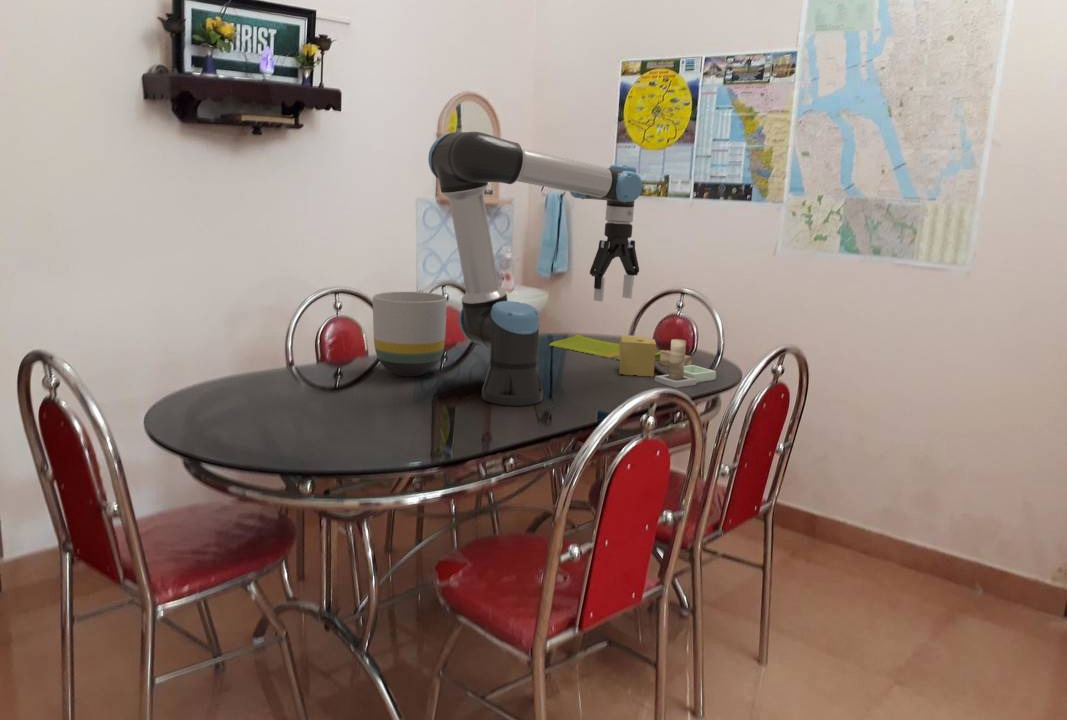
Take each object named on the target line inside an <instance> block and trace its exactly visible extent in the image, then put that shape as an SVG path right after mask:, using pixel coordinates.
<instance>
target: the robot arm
mask: <svg viewBox="0 0 1067 720" xmlns="http://www.w3.org/2000/svg"><path fill="white" fill-rule="evenodd" d="M428 166H429V169H430V171H431V173H432V174H433V176H435V178H437V179H438V183H439V187H440V192H441V194H442V195H443V196H445V197H446V198H447V199H448V202H449V206H450V211H451V217H452V223H453V229H454V235H455V239H456V245H457V251H458V255H459V260H460V266H461V272H462V276H463V278H462V279H463V283H464V288H465V293H464V295H463V296H462V298H461V305H462V309H461V310H460V312H459V316H458V324H459V327H460V330H461V332H462V334H463V335H464V337H466V338H467V339H468V340H470V341H471V342H472V343H474V344H475V345H479V346H482V347H484V348H487V349H490V351H489V369H488V371H487V373H486V377H485V379H484V384H483V385H482V387H481V398H482V400H484V401H485V402H489V403H491V404H496V405H499V406H500V405H501V406H513V407H516V406H517V407H518V406H531V405H536V404H538V403H540V402H542V401H543V396H544V390H543V387H542V383H541V380H540V375H539V372H538V354H539V353H538V352H539V351H538V350H539V349H538V348H539V331H540V330H539V329H540V325H541V324H540V314H539V311H538V309H536V307H535V306H532V305H531V304H528V303H525V302H519V301H513V300H512V301H511V300H508V294H507V291H506V290H505V289H504V288H503V287H500V284H499V279H498V272H497V267H496V260H495V256H494V254H495V253H494V248H493V244H492V238H491V237H492V236H491V232H490V226H489V221H488V220H489V219H488V214H487V209H486V203H485V196H484V192H485V190H486V189H487V188H488V186H489V185H488V184H489V183H501V184H507V185H514V184H515V183H516V182H520V183H523V184H524V183H525V184H529V185H535V186H539V187H546V188H550V189H555V190H559V191H564V192H565V191H566V192H569V193H570V195H571V196H572V197H573V198H575V199H581V200H585V199H586V200H595V201H596V200H599V201H606V207H605V208H606V209H605V218H604V219H605V220H606V221H607V222H605V224H604V234H603V235H604V236H605V237H607V239H606V240H604V239H603V240H602V239H600V240H599V241H598V248H597V251H596V254H595V256H594V259H593V262H592V265H591V267H590V270H589V275H591V276H592V277H594V284H593V285H594V286H593V288H594V289H593V290H594V291H593V301H595V302H600V303H601V302H604V295H605V283H606V277H604V275H605V274H606V272H607V269H608V268H609V267H610V264H611V263H612V262H613V259H616V258H619V260H620V262H621V264H622V266H623V269H624V271H625V274H624V275H623V282H622V283H623V286H622V297H621V298H624V299H632V297H633V287H634V279H635V276H638V274H639V272H640V267H639V262H638V256H637V251H636V241H635V239H634V240H632V239H630V238H632V236H633V234H632V233H633V224H631V223H632V222H633V221H634V211H635V210H634V209H635V208H634V207H635V201H636V200H637V199H638V198H639V197H640V195H641V194H642V190H643V181H642V178H641V177H640V175H639V174H638V173H637V168H636V167H635V166H634V165H626V164H611V165H610V166H609V167H607V166H606V167H605V166H600V165H596V164H592V163H587V162H585V161H584V162H583V161H579V160H574V159H569V158H564V157H562V156H561V157H560V156H556V155H551V154H547V153H543V152H538V151H536V150H535V151H534V150H531V149H530V150H529V149H525V148H523V146H522V144H520V143H518V142H514V141H511V140H507V139H504V138H500V137H497V136H495V135H491V134H488V133H485V132H482V131H481V132H480V131H456V132H455V131H453V132H450V133H446V134H443V135H441V136H439V137H438V138H437V139H436V140H435V141H434V142H433V143H432V145H431V147H430V148H429V153H428Z"/></svg>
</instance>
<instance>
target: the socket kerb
mask: <svg viewBox="0 0 1067 720" xmlns="http://www.w3.org/2000/svg"><path fill="white" fill-rule="evenodd" d="M668 377H669V373H668V374H662V375H655V376H654V382H655V383H659V384H662V385H665V386H667V387H672V388H683V387H689V386H695V385H697V383H696V380H697V379H693V378H690V377H686V376H683V380H677V381H675V380H672V379H668Z"/></svg>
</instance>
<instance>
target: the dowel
mask: <svg viewBox="0 0 1067 720" xmlns="http://www.w3.org/2000/svg"><path fill="white" fill-rule="evenodd" d="M686 347H687V340H685V339H681V338H680V339H679V338H674V339H671V342H670V350H669V351H670V364H669V367H668V374H669V377H668V379H672V380H675V381H677V380H683V373H684V361H685V355H686V349H687V348H686Z"/></svg>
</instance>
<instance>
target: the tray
mask: <svg viewBox="0 0 1067 720" xmlns="http://www.w3.org/2000/svg"><path fill="white" fill-rule="evenodd" d="M683 376H686V377H690V378H693V379H697V380H696V384H698V383H704V382H705V383H706V382H711V381H716V379H717V378H716V377H717V371H716V370H713V369H709V368H705V367H701V366H697V365H694V364H691V365H689V366H684V373H683Z"/></svg>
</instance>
